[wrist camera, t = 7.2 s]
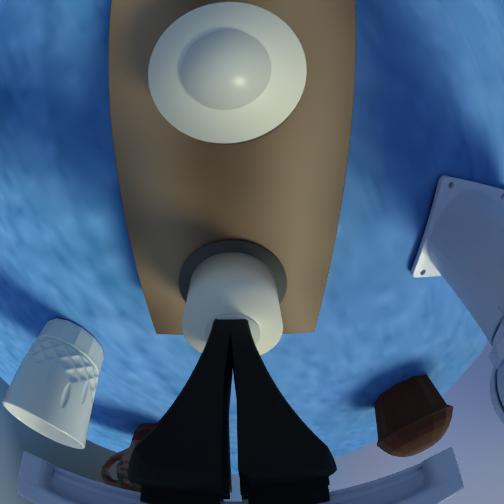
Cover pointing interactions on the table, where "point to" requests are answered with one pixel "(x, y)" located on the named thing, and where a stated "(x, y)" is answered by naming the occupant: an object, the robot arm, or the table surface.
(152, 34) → the knob strip
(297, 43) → the knob middle
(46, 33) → the table surface
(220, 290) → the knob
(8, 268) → the table surface
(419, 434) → the muffin
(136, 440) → the brown ceramic rounded pot
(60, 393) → the white cup
